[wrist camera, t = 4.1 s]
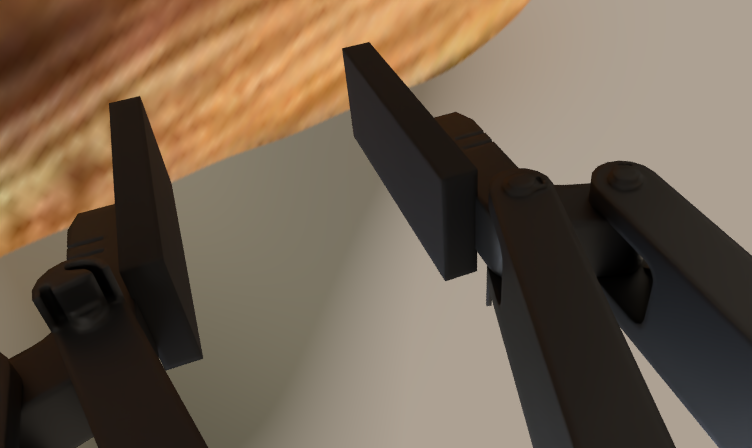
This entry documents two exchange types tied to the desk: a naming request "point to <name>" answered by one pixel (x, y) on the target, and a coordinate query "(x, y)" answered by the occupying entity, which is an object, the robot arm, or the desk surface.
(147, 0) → the desk surface
